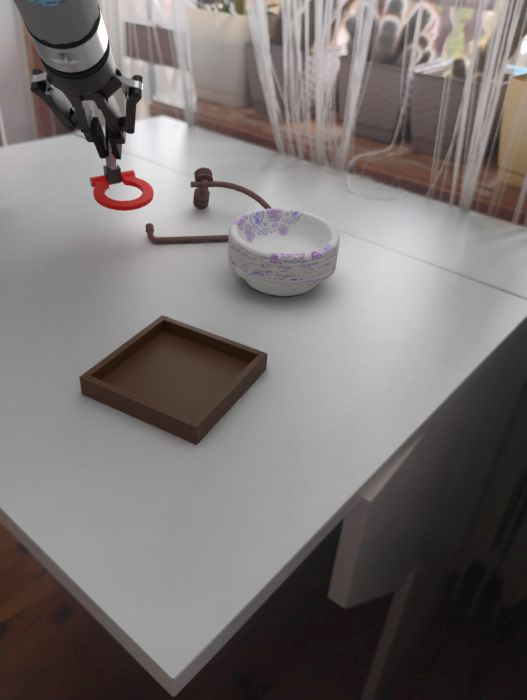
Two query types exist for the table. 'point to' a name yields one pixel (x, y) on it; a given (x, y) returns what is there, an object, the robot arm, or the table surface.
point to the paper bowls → (282, 250)
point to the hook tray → (175, 377)
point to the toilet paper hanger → (204, 206)
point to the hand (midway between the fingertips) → (111, 149)
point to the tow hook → (116, 176)
